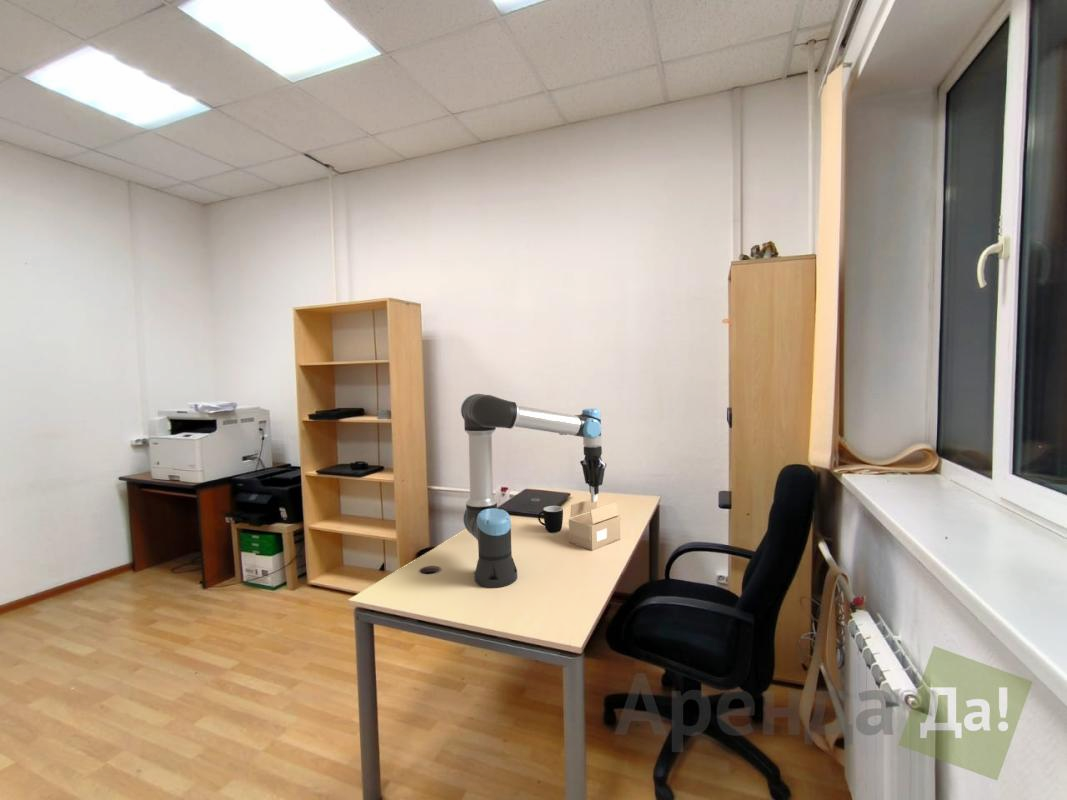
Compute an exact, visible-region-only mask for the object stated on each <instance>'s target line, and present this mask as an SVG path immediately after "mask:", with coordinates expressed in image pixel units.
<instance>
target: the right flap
mask: <svg viewBox="0 0 1067 800" xmlns="http://www.w3.org/2000/svg"><path fill="white" fill-rule="evenodd" d="M589 513H591V520H592V524H594V523H597V522H600V521H603V520H606V519H609V518H612V517H615V516H617V515H619V510H618V505H617V501H615V502H611V503H608V504H606V505H602V506H599V507H597V508H595V509H592V510H590V512H589Z"/></svg>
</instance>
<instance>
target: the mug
mask: <svg viewBox="0 0 1067 800" xmlns="http://www.w3.org/2000/svg"><path fill="white" fill-rule="evenodd" d="M542 514H543V521H544V522H542V520H541V515H542ZM537 518H538V519H537V520H538V522H539V523H540V525H542V526H544V527H545V530H546V532H548V533H552V534H556V533H559V532H561V531H562V527H563V521H564V508H563V507H561V506H558V505H549V506H545V507H543V509H542V511H540V512H539V513H538V515H537Z"/></svg>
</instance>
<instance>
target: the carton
mask: <svg viewBox="0 0 1067 800" xmlns="http://www.w3.org/2000/svg"><path fill="white" fill-rule="evenodd" d="M568 536H569V537H568V539H569V541H568V542H569V543H570V544H571V545H572V544H573V545H576V546H578V547H579V548H580V547H581V548H582V549H583V548H584V549H585V550H589V551H592V552H593V551H595V550H598V549H601V548H603V547H605V546H608V545H610V544H614V543H615V542H618V541H621V516H620V515H619V514H618V515H617V516H615V517H612V518H609V519H606V520H603V521H600V522H597V523H594V524H592V520H591V513H590V512H586V513H583V514H580V515H577V516H574V517H570V518H569V519H568Z"/></svg>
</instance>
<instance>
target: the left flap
mask: <svg viewBox="0 0 1067 800" xmlns="http://www.w3.org/2000/svg"><path fill="white" fill-rule="evenodd" d="M597 505H598V501H596V502H591V498H590V499H587V500H584V501H580V502H577V503H574V504H571V506H570V516H569V517H570V518H574V517H577V516H580V515H583V514H587V513H590V510H592V509H595V508H598V507H597Z"/></svg>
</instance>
